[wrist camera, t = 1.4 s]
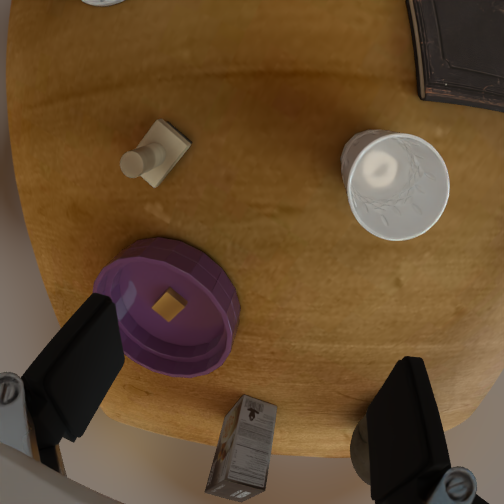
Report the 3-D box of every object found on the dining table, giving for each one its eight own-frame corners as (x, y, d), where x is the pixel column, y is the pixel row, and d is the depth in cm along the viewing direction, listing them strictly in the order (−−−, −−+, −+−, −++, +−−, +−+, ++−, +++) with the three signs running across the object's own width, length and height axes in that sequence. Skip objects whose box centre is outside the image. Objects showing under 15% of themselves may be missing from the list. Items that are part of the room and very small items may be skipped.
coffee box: (256, 427, 52) (241, 503, 37) (224, 416, 51) (203, 492, 37) (278, 405, 47) (266, 491, 33) (242, 392, 47) (221, 480, 33)
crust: (154, 302, 40) (151, 308, 39) (170, 286, 39) (166, 291, 37) (171, 317, 41) (168, 322, 40) (188, 301, 39) (185, 307, 38)
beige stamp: (164, 181, 33) (131, 203, 26) (138, 157, 32) (100, 174, 26) (196, 142, 31) (167, 154, 24) (167, 117, 30) (132, 123, 23)
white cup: (371, 215, 31) (395, 260, 22) (317, 162, 30) (323, 189, 21) (423, 164, 28) (467, 192, 19) (371, 107, 26) (402, 109, 17)
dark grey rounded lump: (361, 437, 49) (363, 505, 36) (338, 401, 45) (339, 484, 32) (431, 415, 45) (445, 483, 31) (422, 373, 40) (443, 456, 27)
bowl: (95, 291, 42) (75, 312, 37) (155, 205, 34) (132, 223, 30) (188, 366, 46) (177, 393, 41) (271, 306, 38) (265, 336, 33)
